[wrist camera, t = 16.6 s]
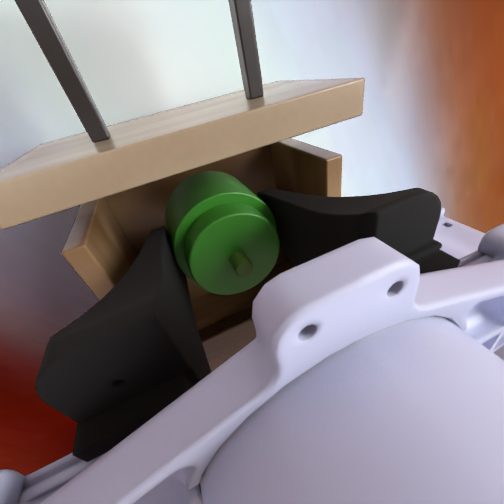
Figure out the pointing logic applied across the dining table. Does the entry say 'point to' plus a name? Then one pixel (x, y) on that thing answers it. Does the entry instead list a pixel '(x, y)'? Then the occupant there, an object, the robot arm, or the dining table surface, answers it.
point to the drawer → (172, 159)
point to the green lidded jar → (221, 233)
